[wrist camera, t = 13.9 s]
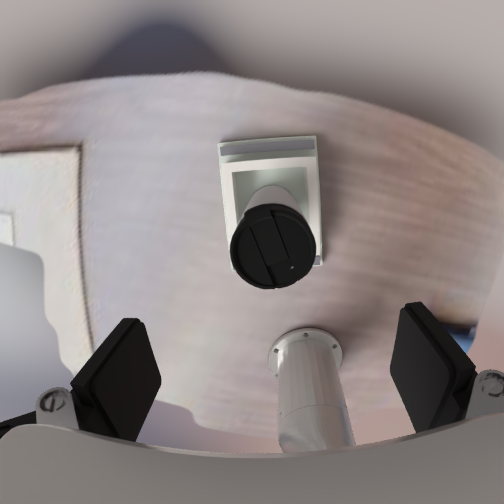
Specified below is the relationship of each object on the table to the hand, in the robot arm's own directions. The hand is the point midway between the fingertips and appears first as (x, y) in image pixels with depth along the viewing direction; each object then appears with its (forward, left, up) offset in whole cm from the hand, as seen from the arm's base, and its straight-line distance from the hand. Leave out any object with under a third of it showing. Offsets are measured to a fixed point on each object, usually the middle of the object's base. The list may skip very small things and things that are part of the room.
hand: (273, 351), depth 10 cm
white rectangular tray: (0, 0, -32) cm, 32 cm away
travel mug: (0, 0, -31) cm, 31 cm away
